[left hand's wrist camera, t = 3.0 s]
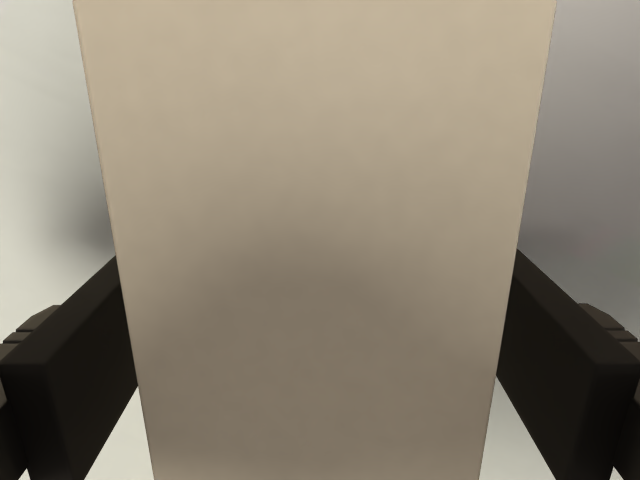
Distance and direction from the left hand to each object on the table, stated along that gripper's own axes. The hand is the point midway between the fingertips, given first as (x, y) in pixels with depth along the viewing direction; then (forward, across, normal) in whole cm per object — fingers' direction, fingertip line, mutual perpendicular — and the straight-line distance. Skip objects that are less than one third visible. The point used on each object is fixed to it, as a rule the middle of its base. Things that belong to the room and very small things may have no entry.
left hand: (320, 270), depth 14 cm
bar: (+1, 0, -27) cm, 27 cm away
